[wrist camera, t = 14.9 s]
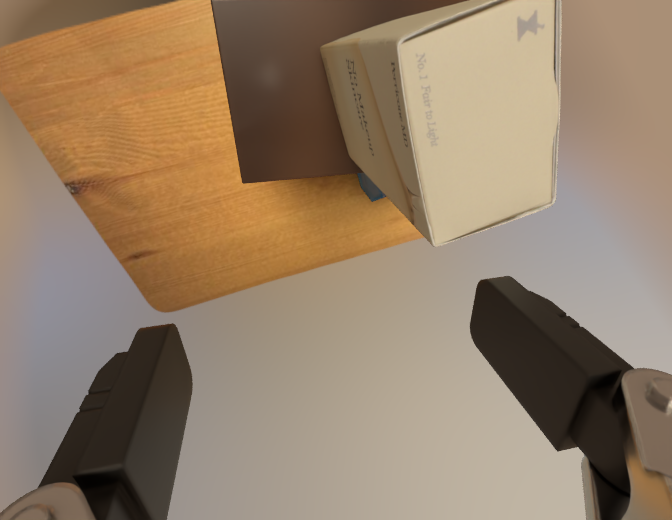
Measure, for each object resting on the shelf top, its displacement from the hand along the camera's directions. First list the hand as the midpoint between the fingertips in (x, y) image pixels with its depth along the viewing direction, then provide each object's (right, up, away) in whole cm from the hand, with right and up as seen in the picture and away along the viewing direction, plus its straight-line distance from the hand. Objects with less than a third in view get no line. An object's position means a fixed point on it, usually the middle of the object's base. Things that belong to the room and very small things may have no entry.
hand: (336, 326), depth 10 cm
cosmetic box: (+2, +11, +11) cm, 16 cm away
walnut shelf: (-3, +25, +35) cm, 43 cm away
